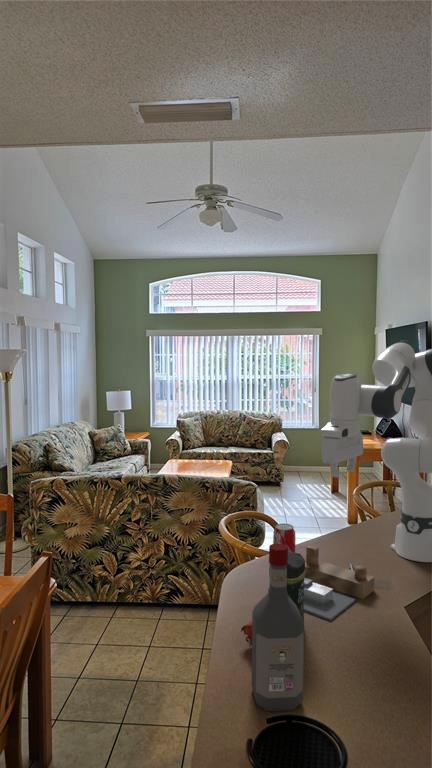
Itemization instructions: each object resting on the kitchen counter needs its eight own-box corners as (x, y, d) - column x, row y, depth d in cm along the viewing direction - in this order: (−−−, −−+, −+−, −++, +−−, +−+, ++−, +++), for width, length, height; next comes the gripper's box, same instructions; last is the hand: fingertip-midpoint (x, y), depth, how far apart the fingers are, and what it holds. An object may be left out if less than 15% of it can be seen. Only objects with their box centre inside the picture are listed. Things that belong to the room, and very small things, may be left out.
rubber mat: (298, 582, 154) (298, 580, 154) (355, 601, 142) (355, 599, 142) (271, 598, 143) (271, 596, 143) (330, 621, 132) (330, 618, 132)
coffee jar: (295, 644, 121) (296, 566, 120) (263, 635, 125) (264, 559, 124) (308, 625, 130) (309, 552, 128) (278, 617, 133) (279, 546, 132)
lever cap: (294, 596, 144) (294, 581, 144) (304, 589, 148) (304, 576, 147) (323, 606, 138) (324, 591, 138) (333, 599, 142) (333, 585, 142)
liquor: (305, 711, 99) (307, 555, 97) (257, 713, 98) (259, 556, 96) (294, 680, 108) (296, 538, 106) (250, 682, 107) (251, 539, 105)
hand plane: (300, 578, 156) (300, 549, 156) (312, 571, 162) (312, 542, 161) (363, 599, 143) (363, 567, 143) (373, 590, 149) (374, 559, 148)
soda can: (294, 568, 164) (295, 530, 163) (271, 566, 165) (272, 529, 164) (295, 559, 171) (296, 523, 170) (274, 557, 172) (274, 522, 171)
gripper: (350, 423, 166) (349, 466, 167) (317, 430, 151) (316, 478, 152) (369, 425, 162) (368, 469, 163) (337, 433, 147) (336, 481, 148)
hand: (343, 474), depth 157 cm, fingers open, 8 cm apart
